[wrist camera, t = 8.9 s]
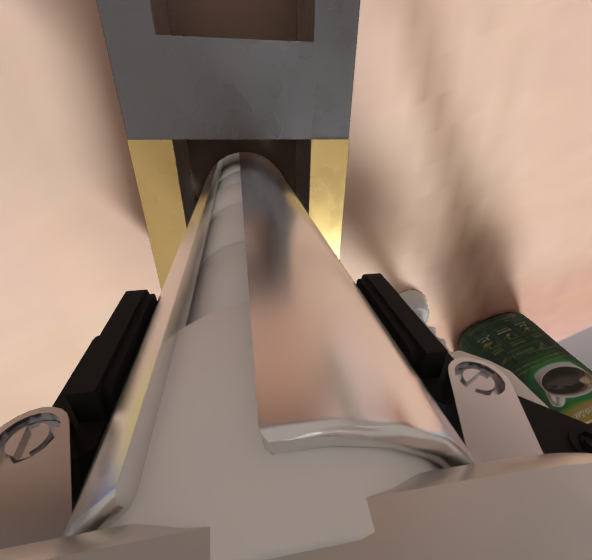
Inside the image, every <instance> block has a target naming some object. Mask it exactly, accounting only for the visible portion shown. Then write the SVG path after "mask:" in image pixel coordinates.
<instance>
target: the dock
mask: <svg viewBox="0 0 592 560" xmlns="http://www.w3.org/2000/svg"><path fill="white" fill-rule="evenodd" d="M96 1H97V5H98V9H99V14H100V18H101V23H102V27H103V32H104V36H105V40H106V45H107V49H108V54H109V58H110V62H111V67H112V71H113V76H114V80H115V84H116V89H117V93H118V98H119V102H120V107H121V111H122V115H123V120H124V124H125V129H126V133H127V137H128V140H127V142H128V146H129V151H130V155H131V160H132V164H133V168H134V173H135V177H136V182H137V186H138V190H139V195H140V199H141V203H142V208H143V212H144V217H145V221H146V225H147V230H148V234H149V239H150V243H151V247H152V252H153V256H154V261H155V265H156V269H157V274H158V278H159V282H160V287H161V291H162V289H163V286H164V284H165V281H166V279H167V276H168V274H169V271H170V269H171V266H172V264H173V261H174V259H175V256H176V254H177V251H178V249H179V246H180V244H181V242H182V239H183V237H184V234H185V232H186V229H187V227H188V224H189V222H190V219H191V217H192V214H193V212H194V209H195V207H196V200H195V193H194V186H193V179H192V172H191V165H190V158H189V151H188V144H187V139H296V166H295V195H296V197H297V198H298V199H299V201H300V202H301V204H302V205H303V207H304V208H305V210H306V211H307V213H308V214H309V216H310V217H311V219H312V220H313V222H314V223H315V225H316V226H317V227H318V229H319V230H320V232H321V233H322V235H323V236H324V238H325V239H326V241H327V242H328V244H329V245H330V247H331V248H332V250H333V251H334V253H335V254H336V255H337V257H338V258H339V253H340V241H341V230H342V218H343V207H344V195H345V184H346V172H347V161H348V149H349V139H348V138H349V126H350V115H351V103H352V91H353V80H354V68H355V56H356V44H357V33H358V21H359V9H360V0H297V41H280V40H259V39H238V38H216V37H195V36H174V35H172V33H171V26H170V19H169V12H168V5H167V0H96Z"/></svg>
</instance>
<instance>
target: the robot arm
mask: <svg viewBox="0 0 592 560" xmlns="http://www.w3.org/2000/svg"><path fill="white" fill-rule="evenodd" d="M356 285H357V286H358V288H359V289H360V291H361V292H362V294H363V295H364V297H365V298H366V300H367V301H368V303H369V304H370V306H371V307H372V309H373V310H374V312H375V313H376V314H377V316H378V317H379V319H380V320H381V322H382V323H383V325H384V326H385V328H386V329H387V331H388V332H389V334H390V335H391V337H392V338H393V340H394V341H395V342H396V344H397V345H398V347H399V348H400V350H401V351H402V353H403V354H404V356H405V357H406V359H407V360H408V362H409V363H410V365H411V366H412V368H413V369H414V370H415V372H416V373H417V375H418V376H419V378H420V379H421V381H422V382H423V384H424V385H425V387H426V388H427V390H428V391H429V393H430V394H431V396H432V397H433V398H434V400H435V401H436V403H437V404H438V406H439V407H440V409H441V410H442V412H443V413H444V415H445V416H446V418H447V419H448V421H449V422H450V424H451V425H452V427H453V428H454V429H455V431H456V432H457V434H458V435H459V437H460V438H461V440H462V441H463V443H464V444H465V446H466V447H467V449H468V450H469V452H470V453H471V455H472V456H473V458H474V461H475V464H469V465H463V466H457V467H451V468H445V469H439V470H434V471H428V472H422V473H418V474H416V475H414V476H412V477H411V478H409V479H407V480H405V481H404V482H402V483H400V484H399V485H397V486H396V487H394V488H392V489H389V490H386V491H384V492H381V493H378V494H375V495H372V496H369V497H367V498H366V500H367V504H368V507H369V511H370V515H371V518H372V522H373V526H374V529H375V532H374V533H372V534H370V535H368V536H367V537H365V538H363V539H361V540H358V541H353V542H348V543H343V544H338V545H334V546H329V547H324V548H319V549H314V550H309V551H304V552H299V553H295V554H290V555H285V556H280V557H275V558H270V559H265V560H592V425H589V424H587V423H584V422H582V421H579V420H577V419H574V418H572V417H570V416H567V415H565V414H562V413H560V412H557V411H555V410H552V409H550V408H547V407H545V406H542V405H540V404H537V403H535V402H533V401H530V400H528V399H525V398H523V397H520V396H518V395H517V394H516V392H515V390H514V388H513V386H512V384H511V382H510V380H509V379H508V377H507V376H506V375H505V374H504V373H503V372H502V371H501V370H499V369H498V368H496V367H495V366H493V365H491V364H489V363H487V362H485V361H482V360H479V359H475V358H467V357H463V358H457V359H455V360H454V358H453V357H452V356H451V355H450V354H449V353H448V350H447V349H446V348H445V347H444V346H443V345H442V343H441V342H440V341H439V340H438V339H437V338H436V336H435V335H434V334H433V333H432V332H431V331H430V330H429V328H428V327H427V326H426V325H425V324H424V323H423V322H422V320H421V319H420V318H419V317H418V316H417V315H416V313H415V312H414V311H413V310H412V309H411V308H410V307H409V305H408V304H407V303H406V302H405V301H404V300H403V299H402V297H401V296H400V295H399V294H398V293H397V292H396V290H395V289H394V288H393V287H392V286H391V285H390V284H389V282H388V281H387V280H386V279H385V278H384V277H383V276H382V274H380V273H377V274H364V275H363V276H362V278H361V279H358V280H357V283H356ZM156 303H157V299H156V296H155V294H149V292H148V291H147V290H136V291H126V292H125V294H124V296H123V297H122V299H121V301H120V302H119V304H118V306H117V307H116V309H115V311H114V312H113V314H112V316H111V317H110V319H109V321H108V322H107V324H106V326H105V327H104V329H103V331H102V333H101V334H100V336H97V337H95V338H94V340H93V341H92V342H91V344H90V346H89V347H88V349H87V351H86V352H85V354H84V355H83V357H82V359H81V360H80V362H79V364H78V365H77V367H76V369H75V370H74V372H73V373H72V375H71V377H70V378H69V380H68V382H67V383H66V385H65V387H64V388H63V390H62V391H61V393H60V395H59V396H58V398H57V400H56V401H55V403H54V405H53V406H52V407H42V408H38V409H35V410H31V411H28V412H26V413H24V414H22V415H19V416H17V417H15V418H14V419H12V420H11V421H9V422H7V423H6V424H4V425H3V426H2V427H0V560H210V527H196V528H176V527H167V526H157V525H143V524H129V525H124V526H118V527H113V528H107V529H102V530H96V531H91V532H86V533H81V534H76V535H71V536H66V537H63V534H64V532H65V529H66V527H67V525H68V522H69V520H70V517H71V515H72V512H73V509H74V506H75V504H76V501H77V499H78V497H79V494H80V492H81V489H82V487H83V484H84V482H85V479H86V477H87V474H88V472H89V469H90V467H91V464H92V462H93V459H94V457H95V454H96V452H97V450H98V447H99V445H100V442H101V440H102V437H103V435H104V432H105V430H106V427H107V425H108V422H109V420H110V417H111V415H112V412H113V410H114V407H115V405H116V402H117V400H118V398H119V395H120V393H121V390H122V388H123V385H124V383H125V380H126V378H127V375H128V373H129V370H130V368H131V365H132V363H133V360H134V358H135V355H136V353H137V350H138V348H139V346H140V343H141V341H142V338H143V336H144V333H145V331H146V328H147V326H148V323H149V321H150V318H151V316H152V313H153V311H154V308H155V306H156Z"/></svg>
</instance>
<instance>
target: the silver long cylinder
mask: <svg viewBox="0 0 592 560" xmlns="http://www.w3.org/2000/svg"><path fill="white" fill-rule="evenodd" d="M469 464H475V461H474V458H473V456H472V455H471V453H470V452H469V450H468V449H467V447H466V446H465V444H464V443H463V441H462V440H461V438H460V437H459V435H458V434H457V432H456V431H455V429H454V428H453V427H452V425H451V424H450V422H449V421H448V419H447V418H446V416H445V415H444V413H443V412H442V410H441V409H440V407H439V406H438V404H437V403H436V401H435V400H434V398H433V397H432V396H431V394H430V393H429V391H428V390H427V388H426V387H425V385H424V384H423V382H422V381H421V379H420V378H419V376H418V375H417V373H416V372H415V370H414V369H413V368H412V366H411V365H410V363H409V362H408V360H407V359H406V357H405V356H404V354H403V353H402V351H401V350H400V348H399V347H398V345H397V344H396V342H395V341H394V340H393V338H392V337H391V335H390V334H389V332H388V331H387V329H386V328H385V326H384V325H383V323H382V322H381V320H380V319H379V317H378V316H377V314H376V313H375V312H374V310H373V309H372V307H371V306H370V304H369V303H368V301H367V300H366V298H365V297H364V295H363V294H362V292H361V291H360V289H359V288H358V286H357V285H356V284H355V282H354V281H353V279H352V278H351V276H350V275H349V273H348V272H347V270H346V269H345V267H344V266H343V264H342V263H341V261H340V260H339V258H338V257H337V255H336V254H335V253H334V251H333V250H332V248H331V247H330V245H329V244H328V242H327V241H326V239H325V238H324V236H323V235H322V233H321V232H320V230H319V229H318V227H317V226H316V225H315V223H314V222H313V220H312V219H311V217H310V216H309V214H308V213H307V211H306V210H305V208H304V207H303V205H302V204H301V202H300V201H299V199H298V198H297V197H296V195H295V194H294V192H293V191H292V189H291V188H290V186H289V185H288V183H287V182H286V180H285V179H284V177H283V176H282V174H281V173H280V171H279V170H278V169H277V168H276V167H275V166H274V165H273V163H272V162H271V161H269V160H268V159H266V158H264V157H263V156H261V155H258V154H254V153H251V152H238V153H234V154H230V155H227V156H226V157H224V158H223V159H221V160H219V161H218V162H217V163H216V165H215V166H214V167H213V168H212V169H211V171H210V173H209V175H208V177H207V180H206V182H205V185H204V187H203V190H202V192H201V194H200V197H199V199H198V202H197V204H196V207H195V209H194V212H193V214H192V217H191V219H190V222H189V224H188V227H187V229H186V232H185V234H184V237H183V239H182V242H181V244H180V246H179V249H178V251H177V254H176V256H175V259H174V261H173V264H172V266H171V269H170V271H169V274H168V276H167V279H166V281H165V284H164V286H163V289H162V291H161V294H160V296H159V298H158V301H157V303H156V306H155V308H154V311H153V313H152V316H151V318H150V321H149V323H148V326H147V328H146V331H145V333H144V336H143V338H142V341H141V343H140V346H139V348H138V350H137V353H136V355H135V358H134V360H133V363H132V365H131V368H130V370H129V373H128V375H127V378H126V380H125V383H124V385H123V388H122V390H121V393H120V395H119V398H118V400H117V402H116V405H115V407H114V410H113V412H112V415H111V417H110V420H109V422H108V425H107V427H106V430H105V432H104V435H103V437H102V440H101V442H100V445H99V447H98V450H97V452H96V454H95V457H94V459H93V462H92V464H91V467H90V469H89V472H88V474H87V477H86V479H85V482H84V484H83V487H82V489H81V492H80V494H79V497H78V499H77V501H76V504H75V506H74V509H73V512H72V515H71V517H70V520H69V522H68V525H67V527H66V529H65V532H64V534H63V537H66V536H71V535H76V534H81V533H86V532H91V531H96V530H102V529H107V528H113V527H118V526H124V525H129V524H143V525H157V526H167V527H176V528H196V527H210V560H265V559H270V558H275V557H280V556H285V555H290V554H295V553H299V552H304V551H309V550H314V549H319V548H324V547H329V546H334V545H338V544H343V543H348V542H353V541H358V540H361V539H363V538H365V537H367V536H368V535H370V534H372V533H374V532H375V529H374V526H373V522H372V518H371V515H370V511H369V507H368V504H367V500H366V498H367V497H369V496H372V495H375V494H378V493H381V492H384V491H386V490H389V489H392V488H394V487H396V486H397V485H399V484H400V483H402V482H404V481H405V480H407V479H409V478H411V477H412V476H414V475H416V474H418V473H422V472H428V471H434V470H439V469H445V468H451V467H457V466H463V465H469Z"/></svg>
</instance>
